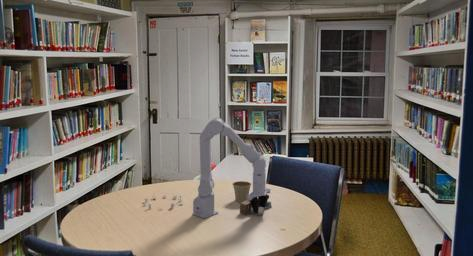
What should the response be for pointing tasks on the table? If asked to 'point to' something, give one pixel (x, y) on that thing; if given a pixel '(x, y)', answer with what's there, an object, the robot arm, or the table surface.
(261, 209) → the grey metal cylinder
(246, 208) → the brown wooden u-shaped block
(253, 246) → the table surface
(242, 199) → the flower pot
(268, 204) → the v block
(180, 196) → the game piece set
